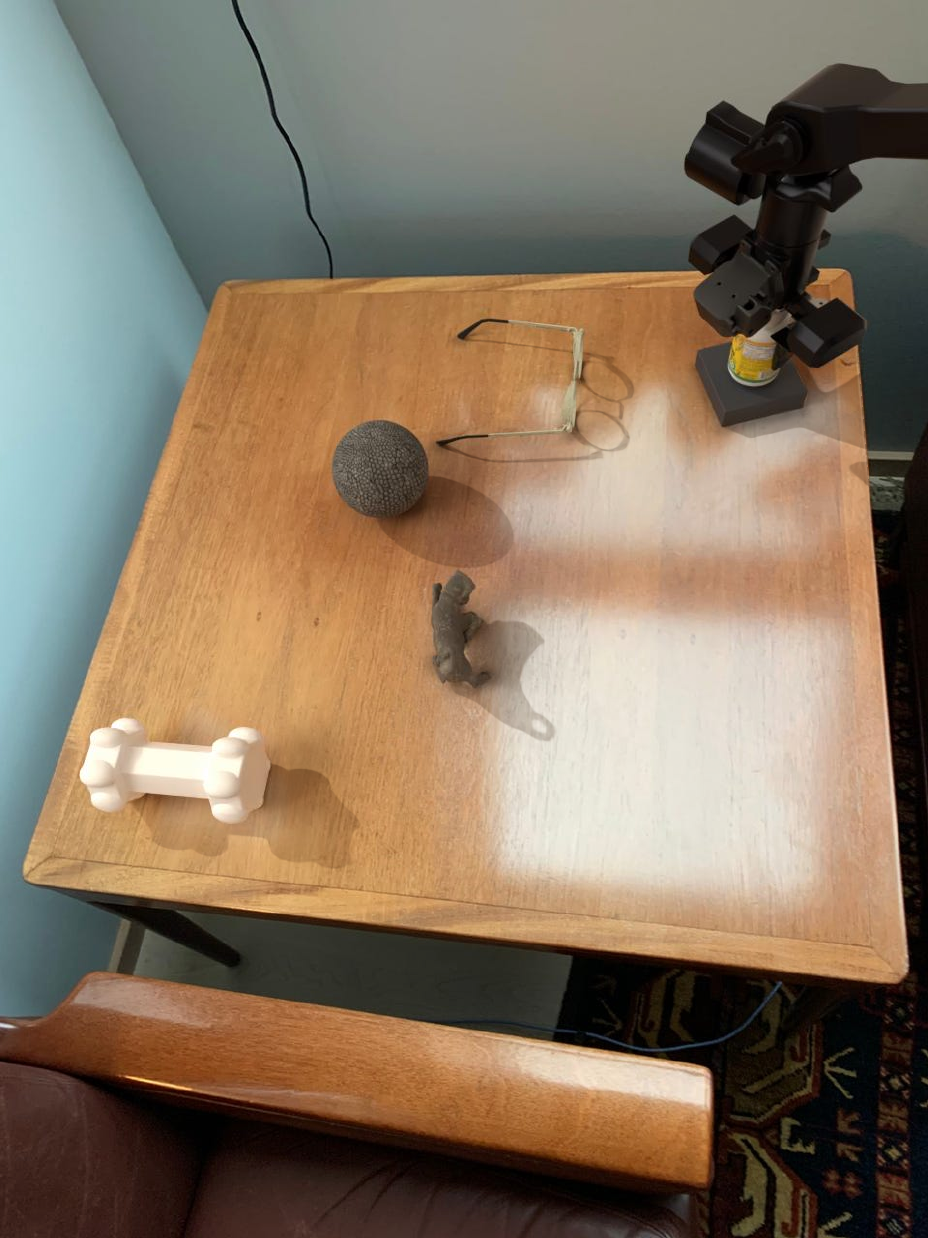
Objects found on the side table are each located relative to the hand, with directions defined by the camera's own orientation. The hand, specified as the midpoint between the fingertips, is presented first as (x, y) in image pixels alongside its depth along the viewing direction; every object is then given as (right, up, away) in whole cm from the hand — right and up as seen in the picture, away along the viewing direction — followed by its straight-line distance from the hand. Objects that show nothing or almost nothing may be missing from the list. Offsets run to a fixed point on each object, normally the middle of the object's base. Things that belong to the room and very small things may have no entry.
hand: (757, 351), depth 90 cm
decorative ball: (-39, -15, +4) cm, 42 cm away
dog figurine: (-31, -30, -4) cm, 43 cm away
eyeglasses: (-25, -2, +9) cm, 27 cm away
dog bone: (-56, -43, -7) cm, 71 cm away
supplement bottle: (0, -1, +2) cm, 3 cm away
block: (+1, -2, +5) cm, 6 cm away
